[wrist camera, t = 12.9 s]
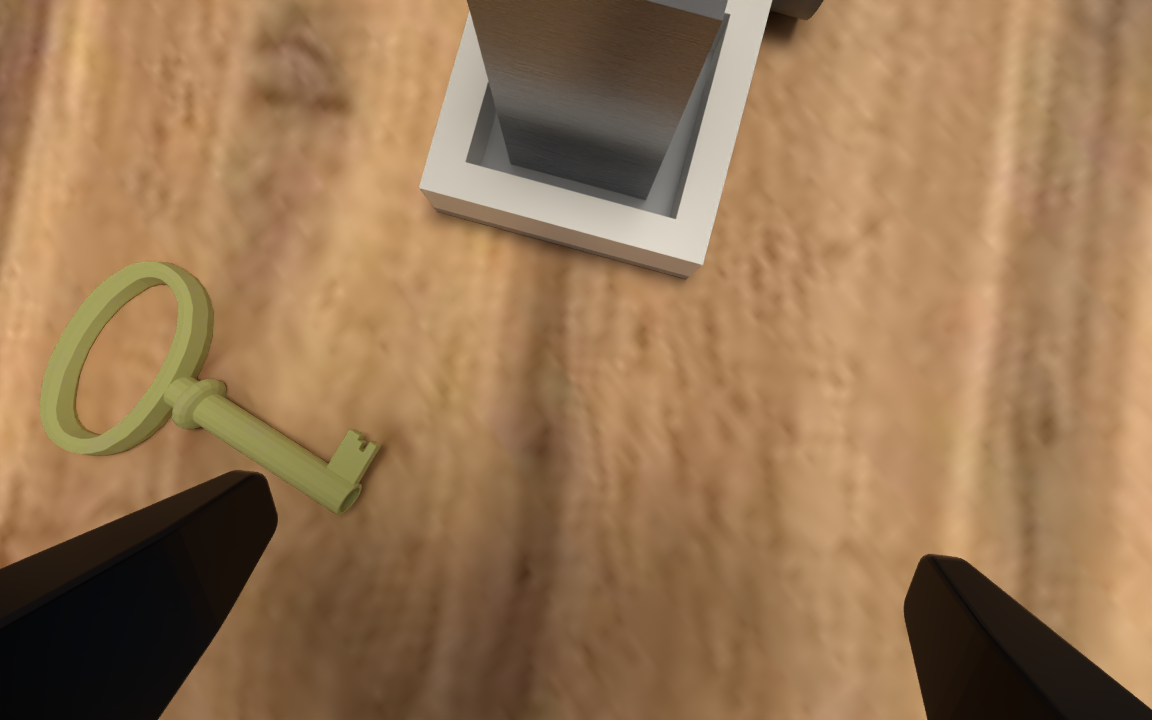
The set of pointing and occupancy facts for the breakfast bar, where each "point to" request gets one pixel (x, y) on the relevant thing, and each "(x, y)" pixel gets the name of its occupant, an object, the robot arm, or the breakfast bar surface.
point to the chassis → (590, 214)
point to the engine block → (593, 82)
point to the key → (186, 394)
